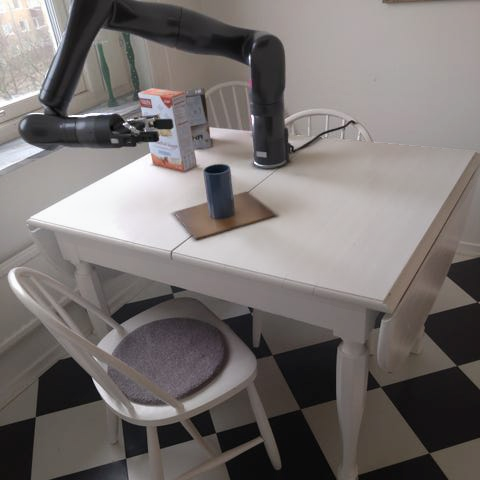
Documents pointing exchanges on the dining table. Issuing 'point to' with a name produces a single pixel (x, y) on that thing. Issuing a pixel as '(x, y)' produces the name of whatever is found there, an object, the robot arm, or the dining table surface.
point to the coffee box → (198, 117)
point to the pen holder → (219, 191)
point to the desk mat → (205, 225)
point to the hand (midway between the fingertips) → (165, 129)
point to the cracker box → (170, 140)
